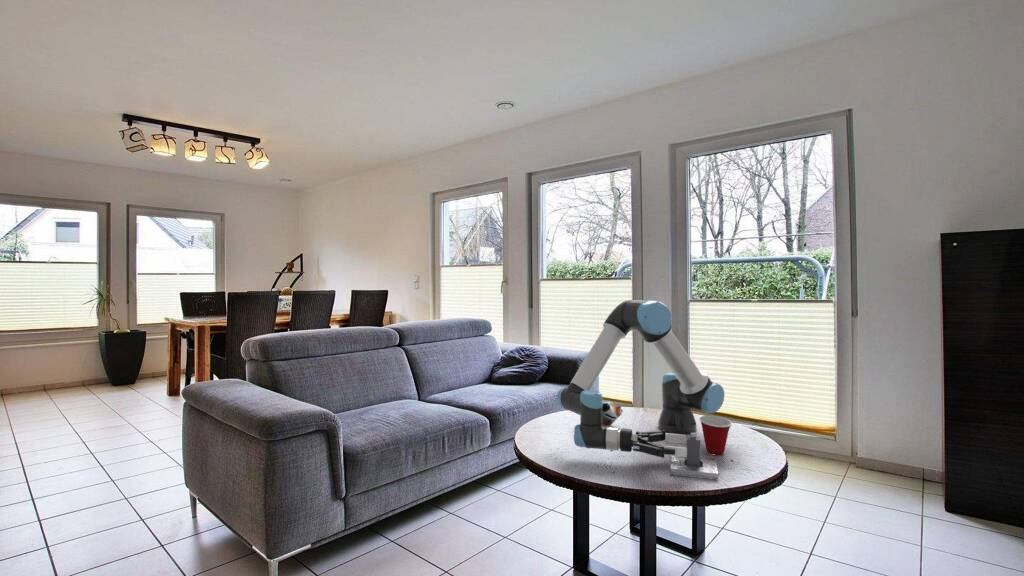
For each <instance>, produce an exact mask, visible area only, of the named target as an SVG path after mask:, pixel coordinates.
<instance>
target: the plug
mask: <svg viewBox="0 0 1024 576" xmlns="http://www.w3.org/2000/svg"><path fill="white" fill-rule="evenodd" d="M689 434H690V435H686V455H687V465H688V466H697V467H700V457H701V438H700V436H697V432H692V433H689Z"/></svg>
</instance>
